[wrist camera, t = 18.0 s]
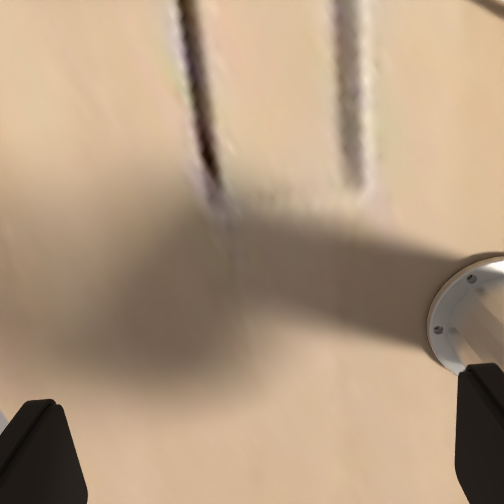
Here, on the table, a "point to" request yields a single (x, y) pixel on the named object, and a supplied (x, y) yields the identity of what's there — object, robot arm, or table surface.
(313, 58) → the table surface
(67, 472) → the robot arm
